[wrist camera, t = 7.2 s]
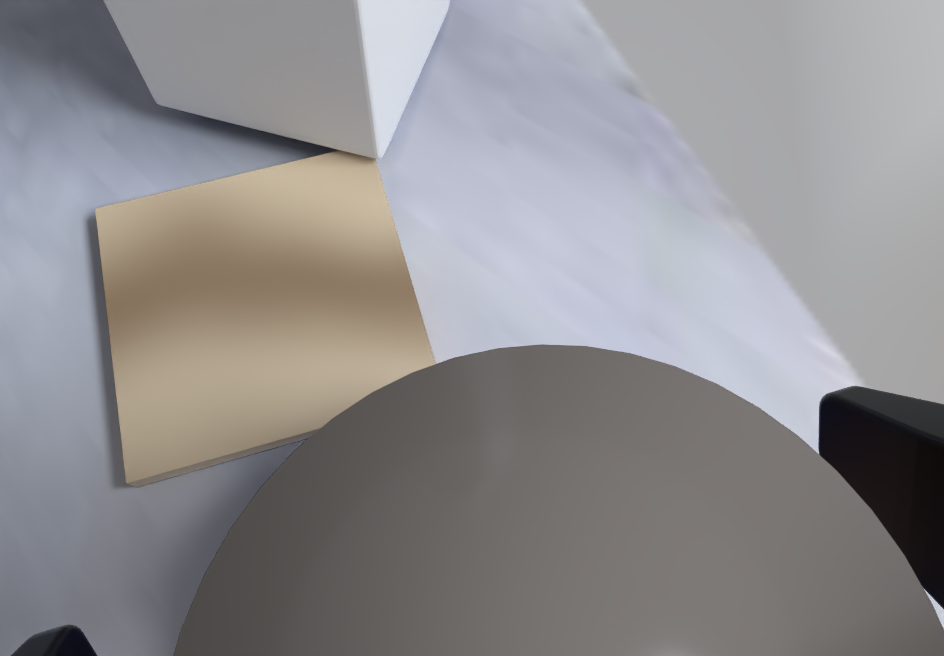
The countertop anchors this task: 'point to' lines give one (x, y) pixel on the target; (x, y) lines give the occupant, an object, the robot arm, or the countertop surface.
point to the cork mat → (253, 310)
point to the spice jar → (558, 527)
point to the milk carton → (286, 62)
